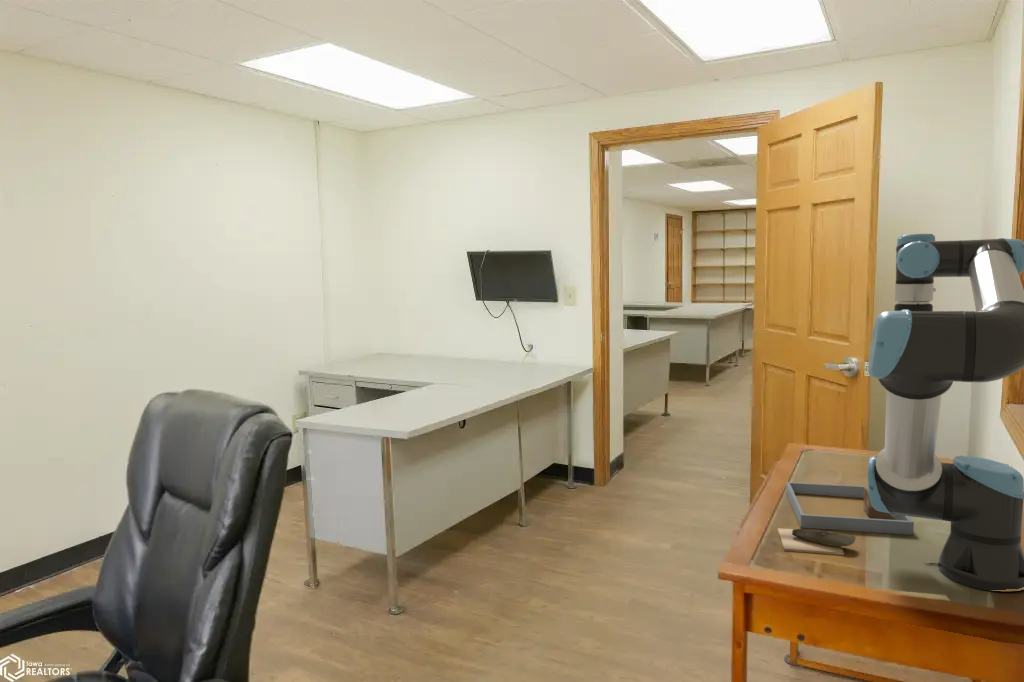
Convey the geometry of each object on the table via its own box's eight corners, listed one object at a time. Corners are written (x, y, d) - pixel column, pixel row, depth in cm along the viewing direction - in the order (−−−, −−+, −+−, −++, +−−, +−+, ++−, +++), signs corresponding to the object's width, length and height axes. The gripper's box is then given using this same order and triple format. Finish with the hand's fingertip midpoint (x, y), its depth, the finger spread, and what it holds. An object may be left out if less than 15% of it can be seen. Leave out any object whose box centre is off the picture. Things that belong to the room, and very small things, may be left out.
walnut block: (890, 518, 167) (891, 494, 166) (868, 517, 168) (868, 493, 168) (885, 511, 172) (885, 488, 171) (863, 510, 173) (864, 487, 172)
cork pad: (844, 555, 146) (844, 552, 146) (784, 550, 149) (784, 548, 149) (832, 534, 158) (832, 532, 158) (777, 530, 161) (777, 528, 161)
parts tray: (913, 535, 156) (913, 522, 156) (800, 527, 162) (800, 515, 162) (882, 498, 181) (882, 487, 181) (786, 492, 187) (786, 481, 187)
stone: (856, 543, 150) (856, 534, 150) (853, 552, 146) (853, 542, 146) (793, 533, 157) (793, 523, 157) (789, 541, 153) (789, 531, 153)
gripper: (952, 305, 142) (948, 406, 144) (914, 300, 166) (911, 386, 168) (912, 305, 144) (908, 405, 146) (880, 300, 168) (877, 385, 170)
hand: (910, 395), depth 157 cm, fingers open, 13 cm apart
